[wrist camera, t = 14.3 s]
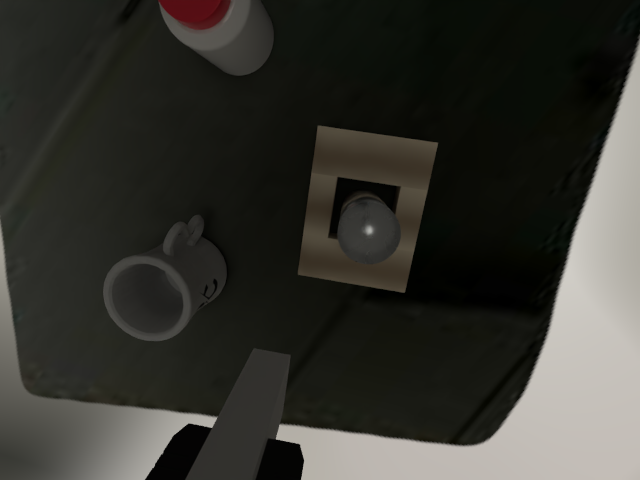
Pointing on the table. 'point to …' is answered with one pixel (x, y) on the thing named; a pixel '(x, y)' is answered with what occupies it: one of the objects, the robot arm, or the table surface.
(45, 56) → the table surface
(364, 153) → the jig
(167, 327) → the mug
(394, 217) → the grey cylindrical peg
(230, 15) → the pill bottle
